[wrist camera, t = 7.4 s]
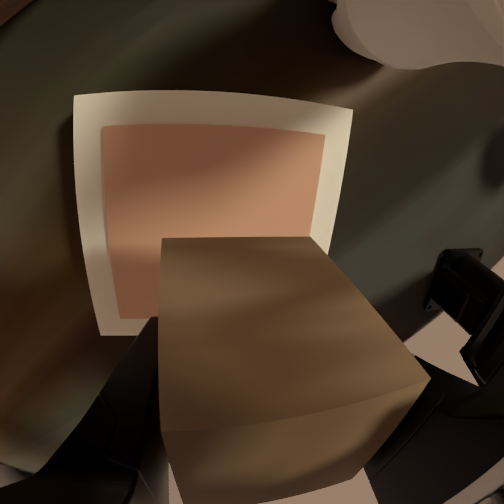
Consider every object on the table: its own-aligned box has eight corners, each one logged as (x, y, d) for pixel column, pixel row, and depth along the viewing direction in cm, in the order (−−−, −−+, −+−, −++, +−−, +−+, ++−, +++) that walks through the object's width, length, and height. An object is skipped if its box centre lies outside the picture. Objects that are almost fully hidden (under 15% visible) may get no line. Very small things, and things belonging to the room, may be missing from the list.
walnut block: (310, 236, 10) (430, 378, 5) (288, 343, 12) (352, 478, 7) (161, 237, 9) (161, 432, 3) (169, 352, 11) (186, 511, 5)
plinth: (328, 106, 16) (356, 110, 13) (296, 298, 22) (312, 326, 19) (90, 95, 13) (71, 95, 10) (106, 306, 19) (99, 338, 16)
